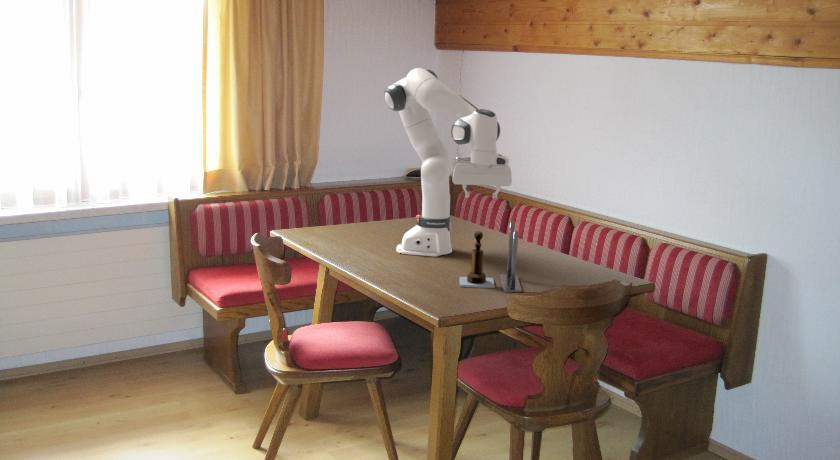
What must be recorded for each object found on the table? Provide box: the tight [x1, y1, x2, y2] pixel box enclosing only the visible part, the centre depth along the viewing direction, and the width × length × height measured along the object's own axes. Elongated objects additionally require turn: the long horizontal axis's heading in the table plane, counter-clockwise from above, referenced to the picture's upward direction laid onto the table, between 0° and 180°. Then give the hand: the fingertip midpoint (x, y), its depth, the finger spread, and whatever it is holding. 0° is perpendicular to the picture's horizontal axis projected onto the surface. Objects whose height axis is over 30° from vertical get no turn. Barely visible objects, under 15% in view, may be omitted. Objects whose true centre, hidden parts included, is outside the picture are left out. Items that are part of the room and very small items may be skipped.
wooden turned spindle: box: [466, 230, 487, 283], centre depth 301 cm, size 7×6×18 cm
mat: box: [458, 276, 496, 289], centre depth 303 cm, size 12×10×1 cm
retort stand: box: [499, 221, 523, 294], centre depth 301 cm, size 6×19×21 cm, turn 179°
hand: (481, 197), depth 296 cm, fingers open, 8 cm apart
